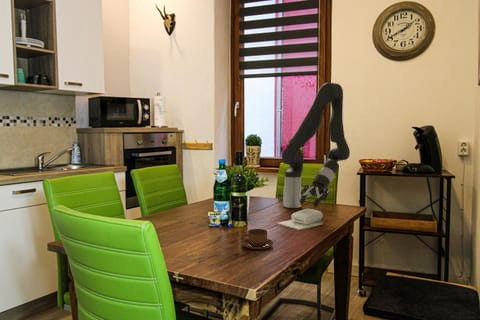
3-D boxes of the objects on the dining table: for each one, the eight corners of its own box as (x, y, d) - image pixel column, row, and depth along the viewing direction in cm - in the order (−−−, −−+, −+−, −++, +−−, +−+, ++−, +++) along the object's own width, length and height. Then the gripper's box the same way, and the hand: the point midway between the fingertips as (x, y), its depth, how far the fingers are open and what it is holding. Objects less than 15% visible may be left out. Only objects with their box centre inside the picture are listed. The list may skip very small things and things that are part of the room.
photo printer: (306, 215, 199) (289, 222, 191) (306, 207, 199) (288, 213, 191) (323, 219, 192) (306, 226, 184) (322, 211, 191) (305, 217, 183)
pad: (277, 223, 190) (277, 221, 190) (300, 218, 200) (300, 216, 199) (298, 230, 179) (298, 227, 179) (322, 224, 189) (322, 221, 188)
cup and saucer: (251, 253, 147) (251, 237, 146) (236, 245, 157) (236, 229, 157) (279, 249, 152) (279, 233, 152) (263, 240, 163) (263, 226, 162)
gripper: (309, 172, 201) (292, 197, 195) (332, 175, 190) (315, 202, 184) (316, 181, 205) (300, 206, 199) (338, 185, 194) (322, 211, 188)
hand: (307, 204), depth 191 cm, fingers open, 8 cm apart
